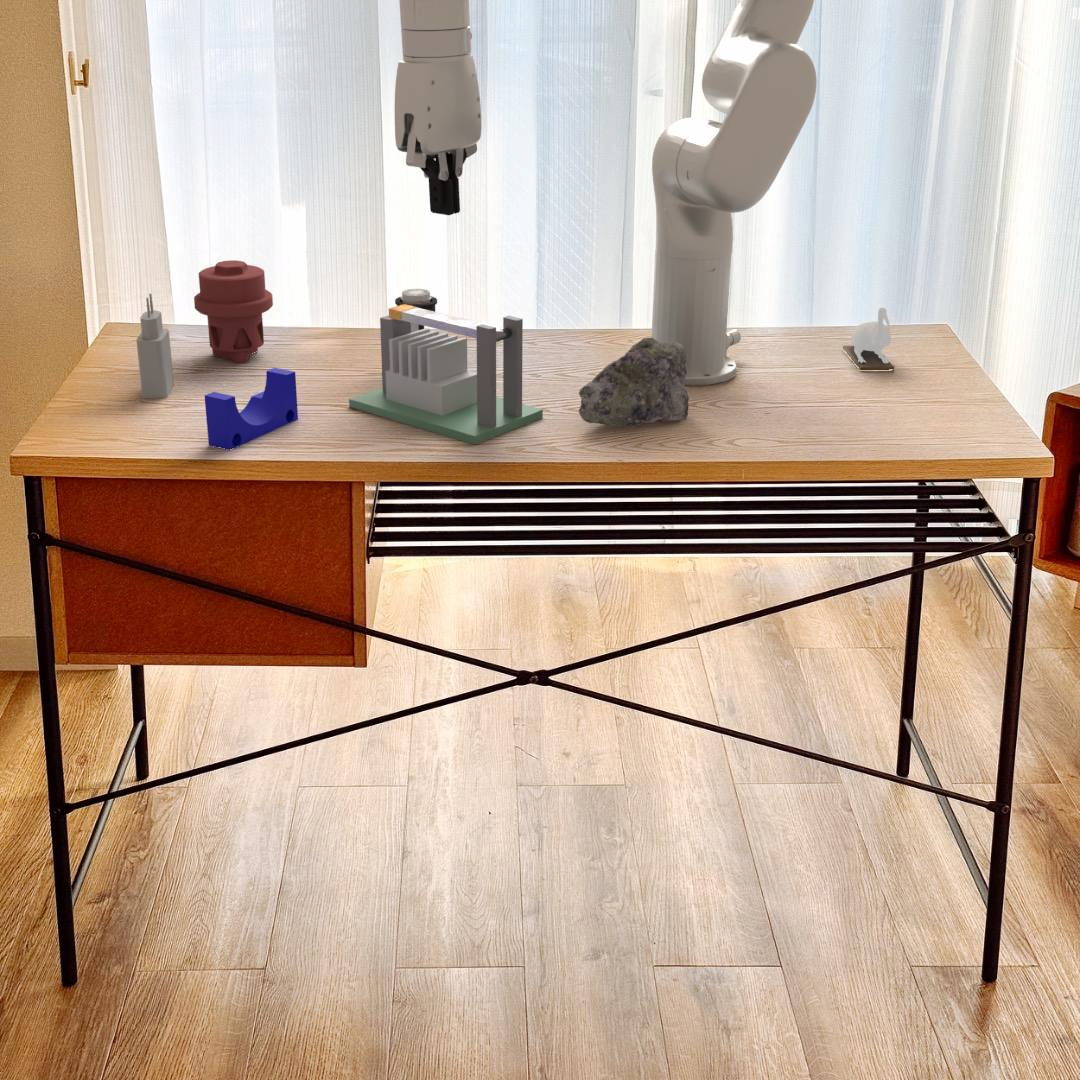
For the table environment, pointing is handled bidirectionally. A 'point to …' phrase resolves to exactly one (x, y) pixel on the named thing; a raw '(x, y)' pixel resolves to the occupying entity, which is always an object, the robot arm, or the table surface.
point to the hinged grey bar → (443, 321)
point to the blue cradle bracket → (252, 411)
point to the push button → (417, 303)
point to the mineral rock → (639, 387)
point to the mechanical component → (233, 308)
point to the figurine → (871, 344)
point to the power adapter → (154, 355)
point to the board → (449, 382)
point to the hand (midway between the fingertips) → (445, 212)
